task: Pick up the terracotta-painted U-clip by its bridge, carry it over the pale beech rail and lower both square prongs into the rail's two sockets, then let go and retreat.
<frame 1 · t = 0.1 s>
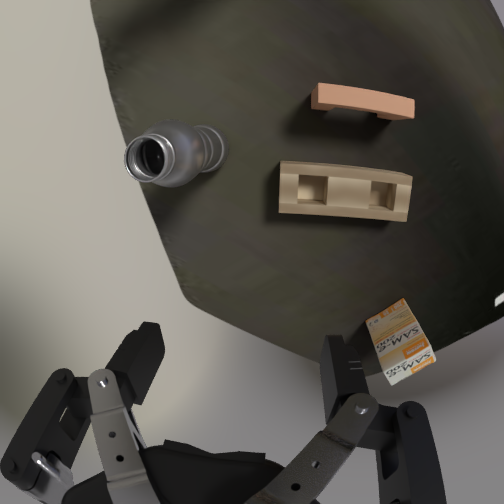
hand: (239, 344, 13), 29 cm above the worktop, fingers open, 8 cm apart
supplement box: (387, 316, 45), on the worktop
clip: (353, 105, 33), on the worktop
rail: (342, 187, 37), on the worktop
metal bottle: (209, 147, 37), on the worktop
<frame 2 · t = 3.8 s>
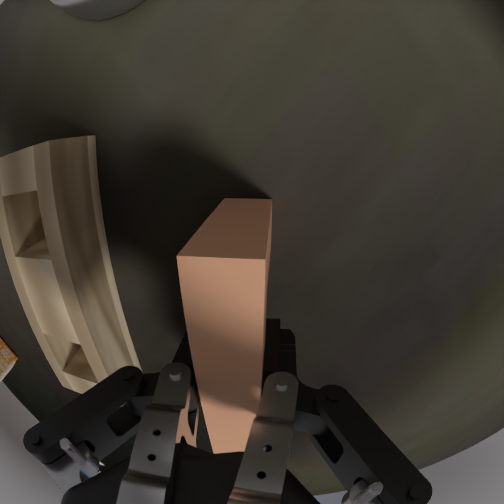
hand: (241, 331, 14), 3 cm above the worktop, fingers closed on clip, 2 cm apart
clip: (248, 300, 16), on the worktop, touching gripper
rail: (79, 272, 17), on the worktop
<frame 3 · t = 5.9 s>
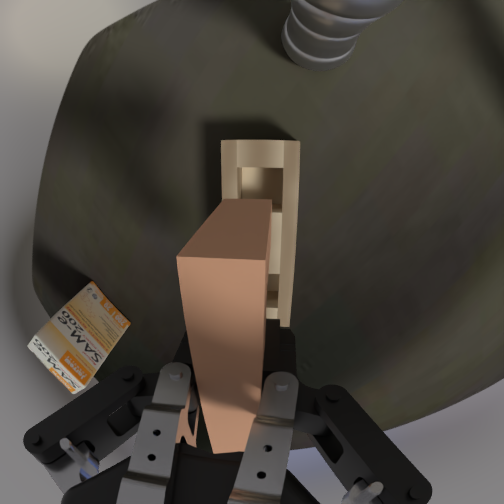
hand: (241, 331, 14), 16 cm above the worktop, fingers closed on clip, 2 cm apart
supplement box: (105, 306, 35), on the worktop
clip: (248, 300, 16), point 13 cm above the worktop, touching gripper
rail: (262, 229, 28), on the worktop
metal bottle: (315, 46, 21), on the worktop
when the fingers open (5 cm above the worktop, at t = 8.1 s): clip drops 1 cm, resting on rail.
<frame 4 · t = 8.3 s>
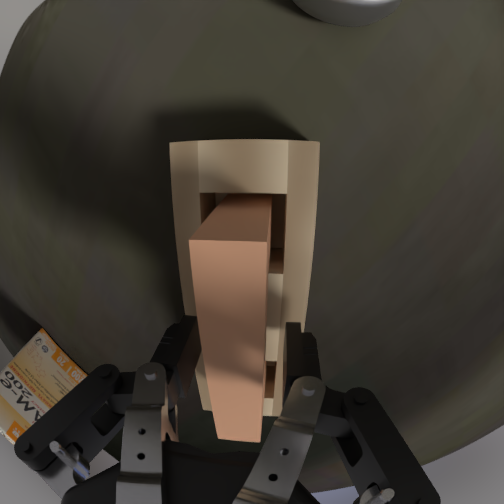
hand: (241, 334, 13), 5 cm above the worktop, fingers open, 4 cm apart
supplement box: (62, 357, 25), on the worktop
clip: (250, 289, 17), point 1 cm above the worktop, touching rail
rail: (250, 283, 18), on the worktop
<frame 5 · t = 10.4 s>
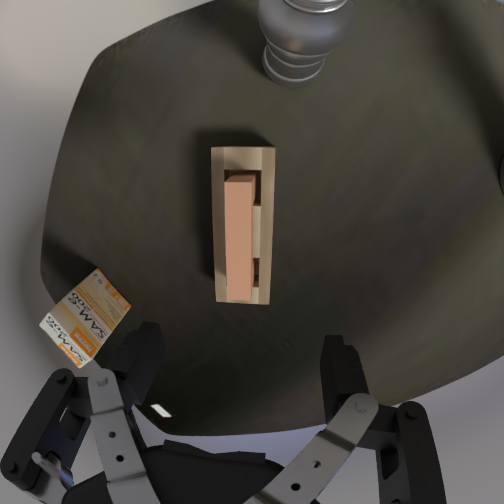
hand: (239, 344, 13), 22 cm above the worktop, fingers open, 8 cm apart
supplement box: (108, 291, 40), on the worktop
clip: (245, 223, 33), point 1 cm above the worktop, touching rail
rail: (245, 221, 34), on the worktop
metal bottle: (292, 65, 26), on the worktop
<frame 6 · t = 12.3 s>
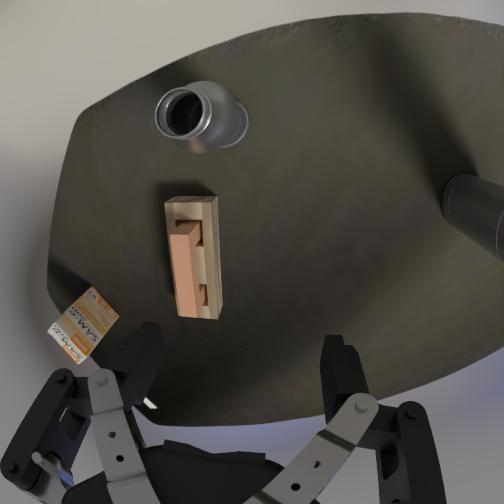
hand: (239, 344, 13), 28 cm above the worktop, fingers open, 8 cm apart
supplement box: (101, 304, 49), on the worktop
clip: (198, 256, 42), point 1 cm above the worktop, touching rail
rail: (199, 254, 42), on the worktop
metal bottle: (229, 124, 35), on the worktop
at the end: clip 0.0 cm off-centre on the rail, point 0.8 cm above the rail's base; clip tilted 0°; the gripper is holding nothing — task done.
